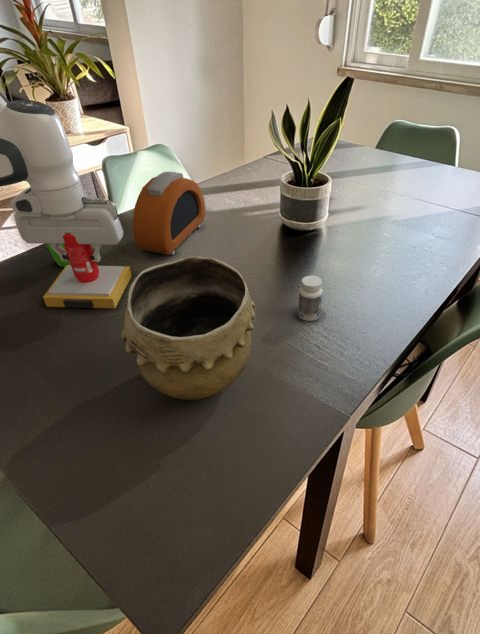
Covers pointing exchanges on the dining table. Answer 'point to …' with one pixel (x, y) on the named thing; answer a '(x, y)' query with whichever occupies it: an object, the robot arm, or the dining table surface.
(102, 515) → the dining table surface
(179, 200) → the alarm clock
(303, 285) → the pill bottle
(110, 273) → the scale
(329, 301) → the dining table surface
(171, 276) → the clay pot
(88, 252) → the beverage can
